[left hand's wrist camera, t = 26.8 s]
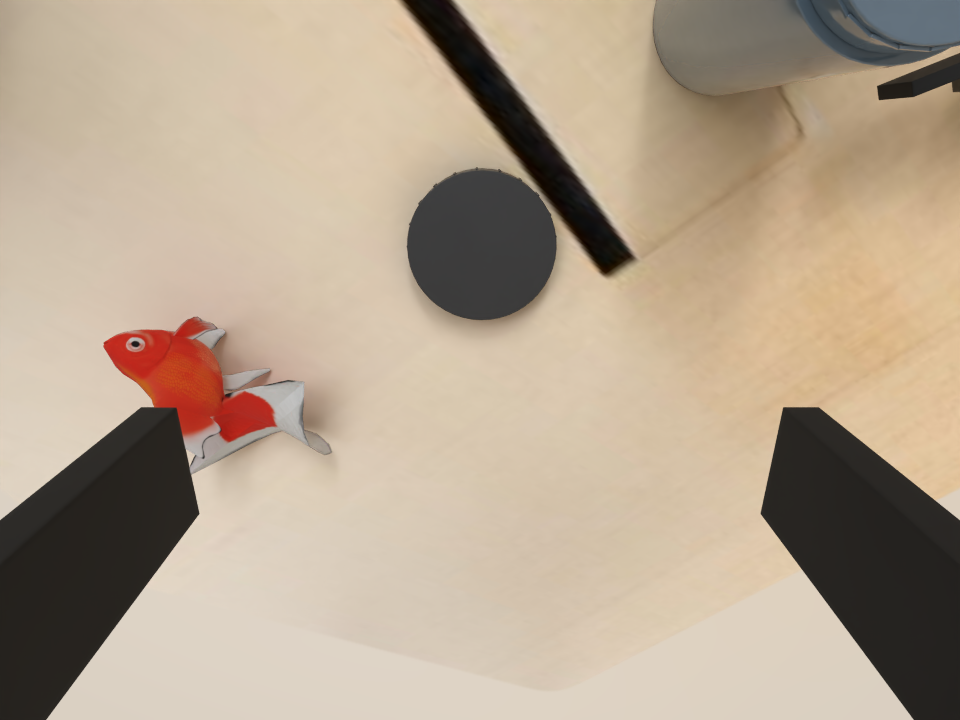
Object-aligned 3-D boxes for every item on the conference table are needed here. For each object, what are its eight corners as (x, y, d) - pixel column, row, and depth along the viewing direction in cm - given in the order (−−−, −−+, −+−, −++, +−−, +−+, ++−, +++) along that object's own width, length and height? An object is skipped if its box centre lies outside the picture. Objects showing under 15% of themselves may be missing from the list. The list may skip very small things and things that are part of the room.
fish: (216, 242, 35) (149, 377, 29) (379, 376, 45) (354, 495, 39) (115, 297, 40) (39, 423, 34) (283, 407, 50) (248, 517, 44)
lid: (577, 269, 40) (583, 276, 38) (456, 335, 42) (455, 345, 40) (510, 138, 37) (512, 138, 35) (382, 215, 39) (377, 220, 37)
